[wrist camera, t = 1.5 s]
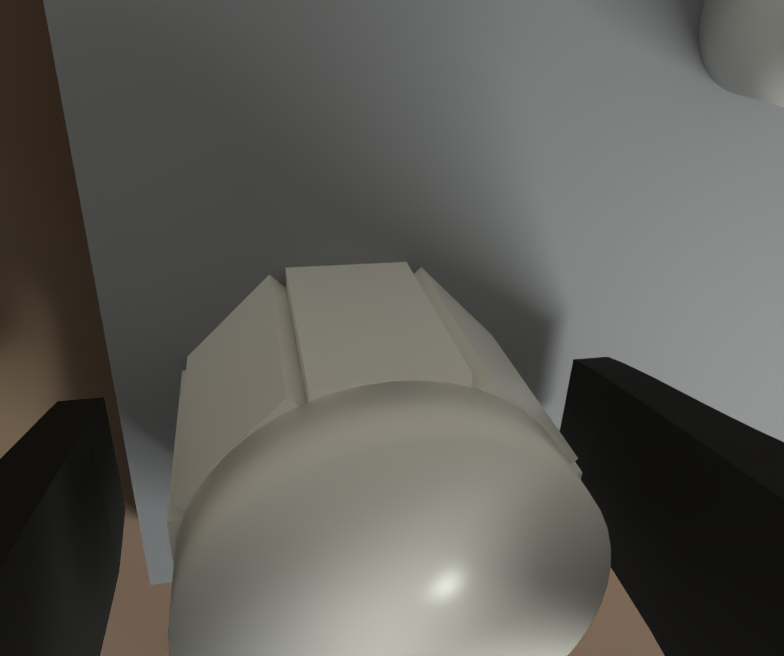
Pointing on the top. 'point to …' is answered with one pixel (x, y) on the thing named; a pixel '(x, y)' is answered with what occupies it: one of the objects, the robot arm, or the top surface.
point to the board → (435, 182)
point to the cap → (372, 483)
